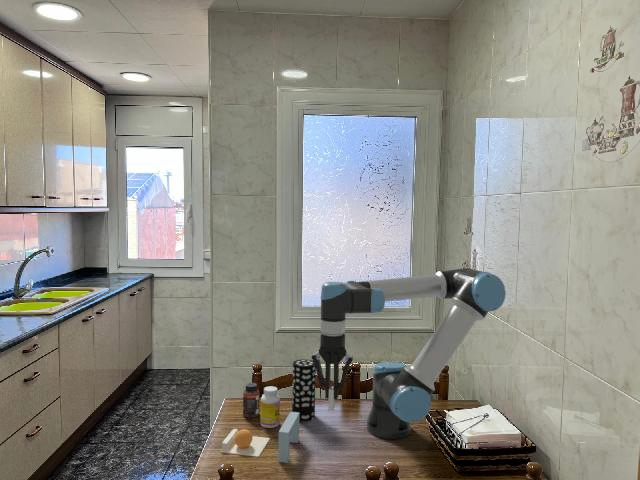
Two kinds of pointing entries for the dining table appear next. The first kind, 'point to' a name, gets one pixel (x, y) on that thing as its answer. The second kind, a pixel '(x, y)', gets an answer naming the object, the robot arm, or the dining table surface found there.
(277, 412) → the supplement bottle
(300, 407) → the spotted tube
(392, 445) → the dining table surface
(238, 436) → the ball
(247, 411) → the supplement bottle
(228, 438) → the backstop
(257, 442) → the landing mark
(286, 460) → the bridge
